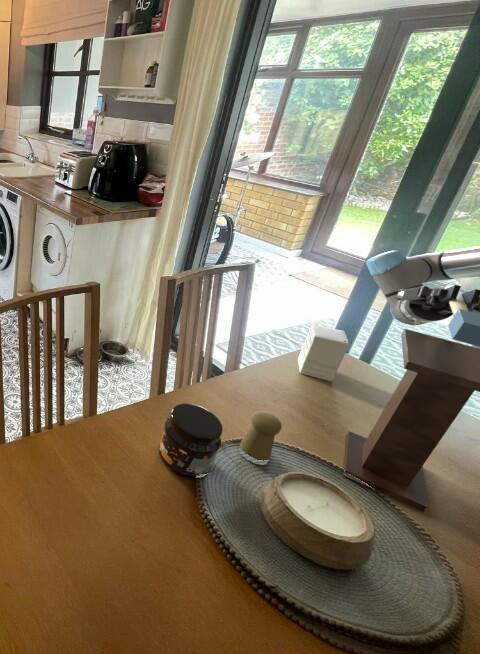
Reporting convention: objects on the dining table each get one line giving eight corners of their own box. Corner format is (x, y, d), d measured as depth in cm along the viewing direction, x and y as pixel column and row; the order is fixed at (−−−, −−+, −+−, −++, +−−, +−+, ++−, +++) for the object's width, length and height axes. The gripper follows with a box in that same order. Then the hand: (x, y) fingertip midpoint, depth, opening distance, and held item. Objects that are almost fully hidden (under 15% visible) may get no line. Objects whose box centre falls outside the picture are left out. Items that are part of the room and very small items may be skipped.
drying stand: (418, 465, 88) (495, 352, 75) (423, 512, 78) (512, 393, 65) (345, 435, 95) (404, 328, 82) (342, 475, 86) (408, 361, 73)
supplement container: (153, 437, 95) (163, 398, 90) (202, 444, 93) (215, 404, 88) (163, 476, 86) (175, 435, 80) (217, 485, 84) (234, 444, 78)
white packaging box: (328, 367, 117) (345, 330, 111) (332, 382, 111) (350, 344, 106) (296, 359, 120) (311, 323, 115) (298, 373, 115) (314, 335, 109)
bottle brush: (461, 294, 86) (470, 279, 84) (483, 347, 69) (495, 330, 68) (436, 289, 88) (445, 274, 87) (452, 339, 71) (463, 322, 70)
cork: (240, 460, 89) (255, 423, 84) (234, 439, 94) (248, 403, 89) (273, 468, 87) (290, 431, 82) (265, 447, 92) (281, 410, 87)
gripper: (468, 332, 93) (519, 326, 74) (378, 310, 102) (404, 299, 83) (480, 301, 93) (535, 287, 74) (389, 281, 102) (418, 265, 83)
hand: (465, 294), depth 79 cm, fingers closed on bottle brush, 2 cm apart
